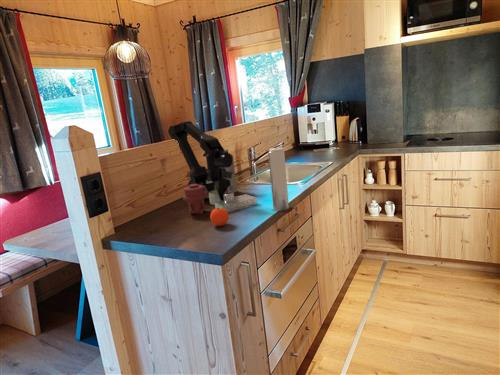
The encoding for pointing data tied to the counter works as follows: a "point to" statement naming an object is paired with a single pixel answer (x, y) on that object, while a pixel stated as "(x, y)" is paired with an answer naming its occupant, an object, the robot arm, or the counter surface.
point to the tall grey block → (278, 179)
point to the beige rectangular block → (235, 202)
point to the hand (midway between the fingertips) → (217, 199)
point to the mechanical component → (195, 198)
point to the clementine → (219, 216)
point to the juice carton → (233, 180)
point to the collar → (214, 197)
